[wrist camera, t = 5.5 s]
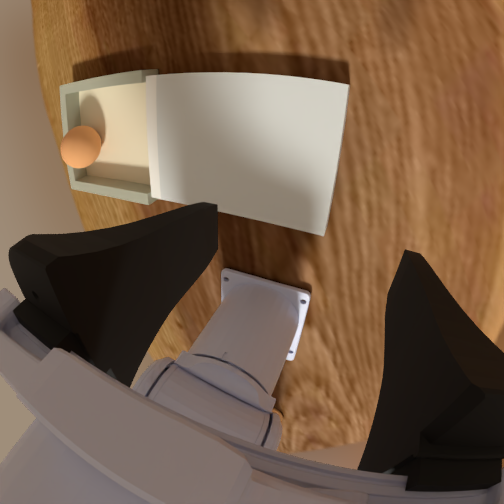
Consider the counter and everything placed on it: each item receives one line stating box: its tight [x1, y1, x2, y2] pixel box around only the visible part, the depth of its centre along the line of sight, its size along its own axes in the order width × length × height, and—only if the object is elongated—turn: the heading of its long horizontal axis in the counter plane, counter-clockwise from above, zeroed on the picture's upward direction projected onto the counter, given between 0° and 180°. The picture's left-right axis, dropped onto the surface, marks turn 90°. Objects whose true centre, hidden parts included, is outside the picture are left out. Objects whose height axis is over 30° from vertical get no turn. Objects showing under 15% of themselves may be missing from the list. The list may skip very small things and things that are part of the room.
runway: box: [146, 72, 350, 236], centre depth 19 cm, size 10×14×2 cm
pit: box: [60, 69, 158, 205], centre depth 22 cm, size 11×11×2 cm
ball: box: [61, 125, 101, 168], centre depth 22 cm, size 4×4×4 cm
